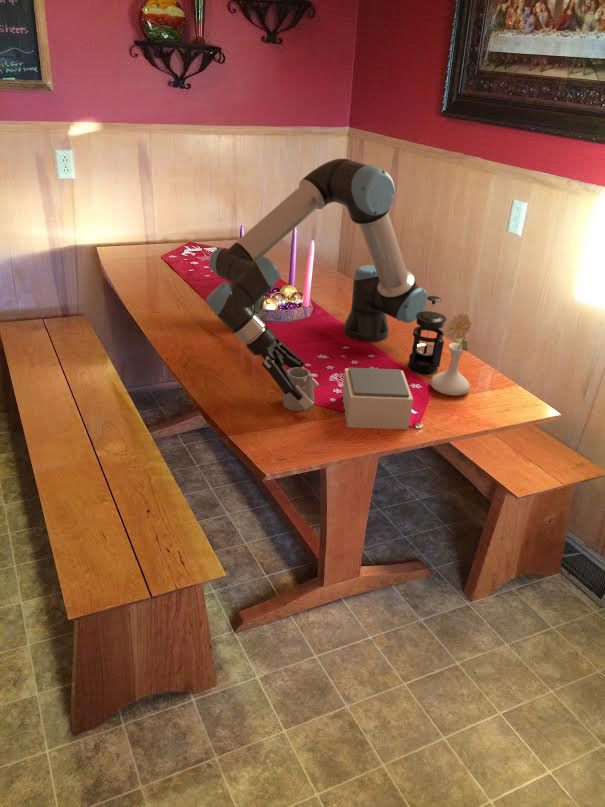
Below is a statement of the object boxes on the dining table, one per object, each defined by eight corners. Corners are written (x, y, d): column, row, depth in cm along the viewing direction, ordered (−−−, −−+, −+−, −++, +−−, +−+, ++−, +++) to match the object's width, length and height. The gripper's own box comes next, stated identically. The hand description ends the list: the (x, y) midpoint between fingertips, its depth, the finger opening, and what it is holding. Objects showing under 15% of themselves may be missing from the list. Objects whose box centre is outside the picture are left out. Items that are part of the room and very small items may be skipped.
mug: (301, 395, 186) (304, 356, 180) (323, 415, 177) (327, 375, 171) (277, 400, 182) (279, 361, 176) (298, 421, 174) (301, 381, 168)
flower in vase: (427, 379, 199) (441, 300, 187) (465, 381, 199) (481, 303, 187) (433, 400, 188) (448, 318, 176) (473, 403, 188) (491, 321, 176)
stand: (341, 396, 187) (345, 365, 182) (398, 399, 188) (403, 368, 183) (347, 427, 173) (351, 394, 168) (408, 429, 174) (413, 396, 169)
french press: (399, 362, 208) (410, 293, 196) (423, 358, 212) (435, 289, 201) (423, 379, 199) (435, 307, 188) (447, 373, 203) (461, 303, 192)
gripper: (254, 326, 182) (307, 384, 189) (235, 362, 163) (295, 425, 170) (274, 310, 179) (327, 369, 186) (257, 345, 160) (317, 410, 166)
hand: (312, 396), depth 178 cm, fingers closed on mug, 10 cm apart
